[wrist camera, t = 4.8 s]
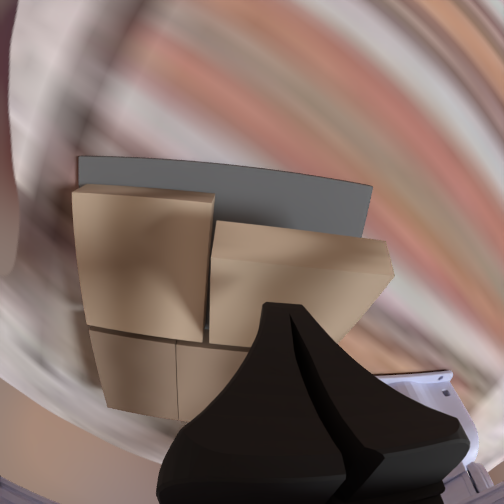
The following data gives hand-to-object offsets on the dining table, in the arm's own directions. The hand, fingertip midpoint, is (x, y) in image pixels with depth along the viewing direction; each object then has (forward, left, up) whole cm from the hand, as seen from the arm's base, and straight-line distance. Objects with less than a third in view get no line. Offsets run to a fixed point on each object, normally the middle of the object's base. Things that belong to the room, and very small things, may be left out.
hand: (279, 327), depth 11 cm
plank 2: (-1, +1, -5) cm, 5 cm away
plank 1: (+7, +1, -7) cm, 10 cm away
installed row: (+3, +10, -7) cm, 12 cm away
